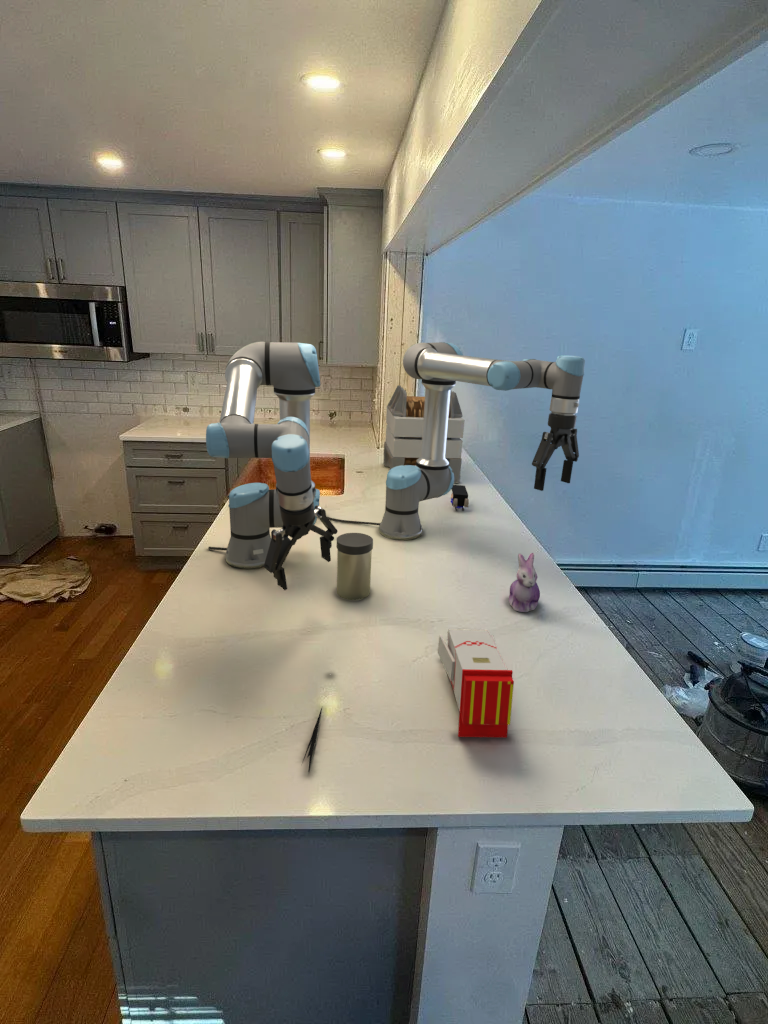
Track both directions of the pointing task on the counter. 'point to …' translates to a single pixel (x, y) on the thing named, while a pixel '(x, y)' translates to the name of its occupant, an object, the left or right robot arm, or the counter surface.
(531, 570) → the figurine
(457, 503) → the figurine character
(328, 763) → the counter surface
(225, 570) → the counter surface
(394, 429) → the transformer
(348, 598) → the jar
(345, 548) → the lid
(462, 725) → the toy
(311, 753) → the feather
